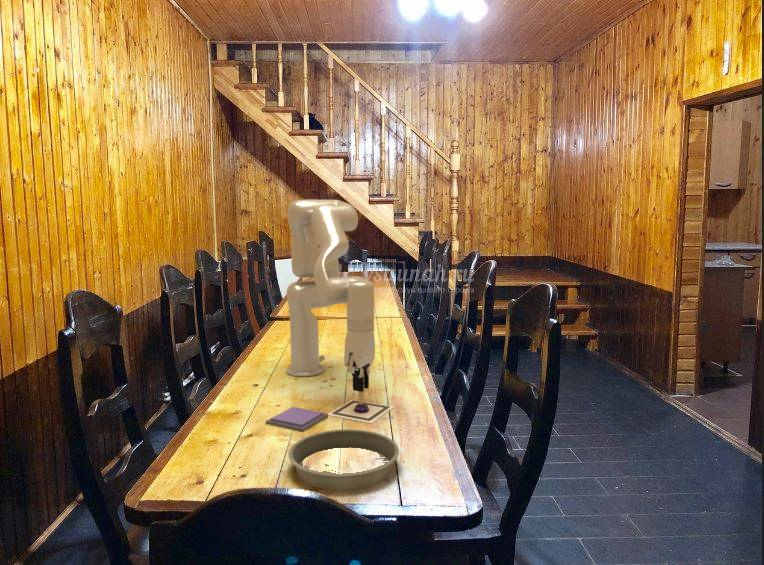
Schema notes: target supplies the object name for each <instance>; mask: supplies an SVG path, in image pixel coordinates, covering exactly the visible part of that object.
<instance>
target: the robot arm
mask: <svg viewBox="0 0 764 565" xmlns="http://www.w3.org/2000/svg"><path fill="white" fill-rule="evenodd" d="M286 218H287V223H288V227H289V230H290V234H291V271H292V274H293V275H294V276H295V277H297V278H314V279H310V280H309V279H307V280H299V281H295V282H294V281H293V282H292V283H290V284H289V285H288V286H287V288H286V299H287V304H288V310H289V311H288V312H289V325H290V326H289V327H290V328H289V329H290V331H289V332H290V366H288V367H287V368H286V374H288V375H290V376H293V377H312V376H313V377H314V376H318V375H320V374H322V373H323V372H324V366H323V365H321V362H323V361H324V360H325V359H326V357H325V355H322V354H321V355H319V354H320V350H319V349H320V348H319V343H320V342H319V341H320V340H319V320H318V318H317V316H316V314H314V313H313V312H312V309H319V308H327V307H332V306H334V305H341V304H346V334H345V340H344V352H343V353H344V354H343V356H344V357H343V360H344V361H343V364H344V366H345V367H348V368H347V373H350V374H351V377H352V390H353V391H356V392H358V391H360V392H363V391H365V389H366V390H367V389H369V388H370V372H371V371H370V368H371V365H372V364H373V362H374V361H375V356H376V342H375V285H374V283H373V282H372V281H370V280H366V279H365V278H363V277H362V276H359V275H358V276H357V275H356V276H355V275H353V276H341V277H340V276H339V275H340V273H339V271H340V269H339V268H340V265H339V258H341V257H342V256H345V254H346V253H347V252H348V251H349V248H350V246H349V245H350V244H349V240H348V238H347V236H346V232H352V231H355V229H357V227H358V224H359V217H358V213H357V210H356V209H355V208H354V207H353V205H352V204H350V203H347V202H344V201H342V200H338V199H316V198H315V199H298V200H294V201H292V202H290V203H289V204H288V207H287V214H286ZM318 247H319V248H318ZM367 363H369V367H368V368H364V378H363V377H362V367H363V366H365V365H366V364H367ZM355 364H356V365H357V366H355ZM358 369H359V371H358Z"/></svg>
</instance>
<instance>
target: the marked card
mask: <svg viewBox="0 0 764 565" xmlns="http://www.w3.org/2000/svg"><path fill="white" fill-rule="evenodd" d="M357 404H359V399H358V400H357V399H350V400H349V401H347V402H345V403H344V404H342V405H340V406H339V407H337V408H335V409H334V410H331V412H329V413H327V414H328V417H329V416H330V417H335V418H339V417H340V419H345V418H346V420H350V419H351V421H355V420H356V422H360V421H361V422H360V423H365V422H366V423H367V424H371V423H372V424H373V423H375V422H376V421H378V420H379V419H380V418H381V416H382V417H383V416H384V415H386V414H387V413H388V411H389V410H390V411H392V410H393V409H395V406H392V405H386V404H380V403H374V402H370V401H365V403H364V404H366V405H367V406H368V407H369V411H368V412H366V413H358V412H355V411H354V408H355V406H356V405H357ZM392 408H393V409H392ZM390 411H389V412H390ZM385 413H386V414H385ZM378 418H379V419H378Z"/></svg>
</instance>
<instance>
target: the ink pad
mask: <svg viewBox="0 0 764 565" xmlns="http://www.w3.org/2000/svg"><path fill="white" fill-rule="evenodd" d="M328 417H329V415H328V413H323V412H321V411H316V410H312V409H306V408H301V407H295V406H291V407H290V408H288V409H286V410H284V411H282V412H281V413H278V414H276V415H274V416H273V417H271V418H269V419H266V421H265V425H268V424H270V425H269V426H273V425H274V426H273V427H278V426H279V427H278V428H283V427H284V428H283V429H287V428H288V430H293V431H298V432H304V433H305V431H307V430H308V429H310V428H312V427H313V426H315V425H317V424H319V423H320V422H322V421H324V420H325V419H326V418H328Z"/></svg>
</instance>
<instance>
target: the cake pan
mask: <svg viewBox="0 0 764 565" xmlns="http://www.w3.org/2000/svg"><path fill="white" fill-rule="evenodd" d="M350 447H351V448H361V449H366V450H370V451H373V452H377V453H378V454H379V455H380V457H385V458H380V459H384V460H382V461H389V462H383V463H385V464H384V465H381V466H379V467H377V468H374V469H371V470H367V471H362V472H356V473H343V474H336V473H331V472H327V471H323V472H318V471H314V470H310V469H307V468H305V466H304V467H303V463H302V462H303V460H304V459H305V458H306V457H308V456H310V455H312V454H314V453H316V452H319V451H323V450H328V449H333V448H350ZM399 455H400V449H399V445H398V444H397V442H395V440H393V439H391V438H390V437H388V436H386V435H384V434H381V433H379V432H375V431H370V430H364V429H352V428H349V429H348V428H347V429H346V428H345V429H344V428H342V429H331V430H326V431H321V432H317V433H313V434H310V435H308V436H305V437H303V438H301V439H298V440H297V441H296V442H295V443H294V444H293V445H292V446H291V447H290V448H289V451H288V459H289V461H290V462H291V464H292V465H293V466H294V467H295V470H296V473H297V475H298V476H297V477H299V478H300V479H301V481H302V482H304V483H306V484H308V485H310V486H313V487H315V486H316V487H315V488H318V487H319V489H323V490H328V491H329V490H330V491H331V490H332V491H351V490H352V491H353V490H361V489H366V488H368V487H372V486H375V485H377V484H380V483H382V482H383V481H384V480H386V479H387V478H388V477H389V476H390V475H391V473H392V471H393V466H394V462H395V461H396V460H397V459H398V457H399ZM325 465H326V466H329V465H327V464H325ZM306 466H307V465H306ZM326 466H325V467H326ZM332 471H333V470H332ZM335 472H336V471H335ZM338 473H339V472H338Z"/></svg>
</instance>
